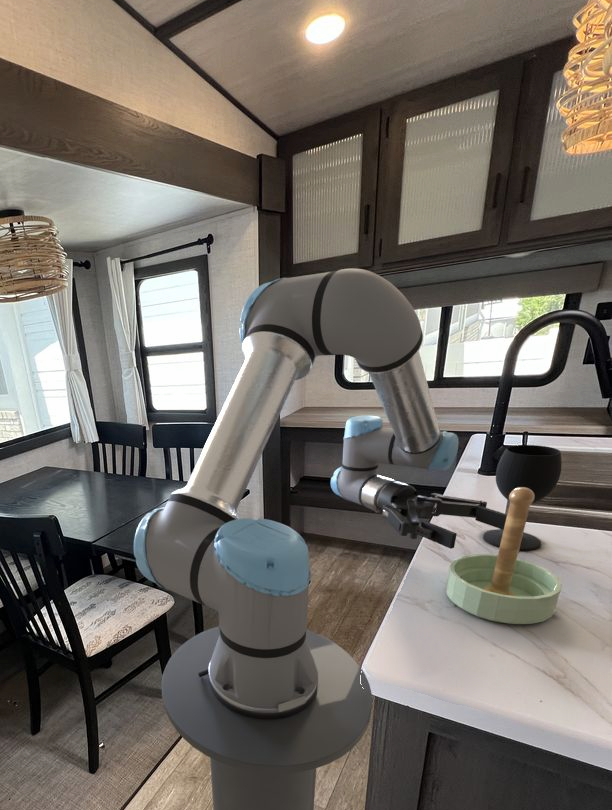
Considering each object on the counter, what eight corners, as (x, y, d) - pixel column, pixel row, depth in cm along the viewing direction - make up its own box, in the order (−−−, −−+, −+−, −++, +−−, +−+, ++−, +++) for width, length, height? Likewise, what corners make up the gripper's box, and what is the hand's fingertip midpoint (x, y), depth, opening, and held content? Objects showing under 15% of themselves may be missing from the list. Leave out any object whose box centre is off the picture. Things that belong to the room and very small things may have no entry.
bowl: (467, 627, 76) (473, 598, 73) (432, 580, 90) (436, 554, 87) (574, 629, 73) (584, 599, 71) (521, 580, 87) (528, 553, 85)
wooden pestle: (489, 604, 79) (515, 492, 71) (477, 591, 83) (501, 483, 75) (518, 605, 79) (548, 491, 70) (505, 591, 83) (531, 482, 74)
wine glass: (475, 542, 102) (494, 452, 94) (490, 527, 108) (509, 441, 100) (534, 555, 95) (559, 459, 86) (546, 538, 101) (571, 447, 93)
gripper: (432, 503, 104) (530, 536, 86) (340, 526, 97) (424, 568, 79) (437, 470, 101) (540, 498, 83) (342, 492, 94) (431, 527, 76)
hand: (483, 532), depth 81 cm, fingers open, 13 cm apart
